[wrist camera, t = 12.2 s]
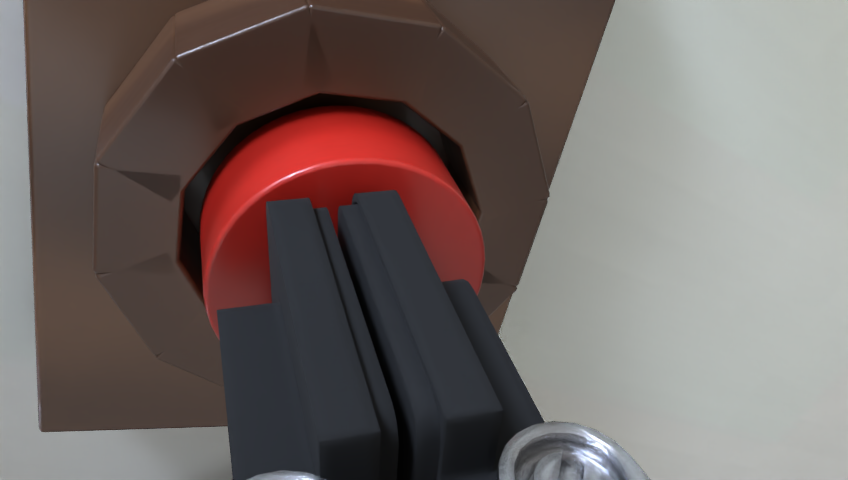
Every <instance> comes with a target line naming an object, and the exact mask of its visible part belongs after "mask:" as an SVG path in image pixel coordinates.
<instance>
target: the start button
mask: <svg viewBox="0 0 848 480" xmlns="http://www.w3.org/2000/svg"><path fill="white" fill-rule="evenodd" d="M387 190H396V191H397V192H398V194H399V195H400V198H401V200H402V202H403V204H404V206H405V208H406V210H407V212H408V214H409V216H410V218H411V220H412V222H413V224H414V226H415V229H416V231H417V233H418V235H419V237H420V239H421V241H422V243H423V245H424V247H425V249H426V251H427V253H428V255H429V257H430V259H431V262H432V264H433V266H434V268H435V270H436V272H437V274H438V276H439V278H440V280H441V282H444V281H452V280H460V279H464V280H466V281H468V282H469V283H470V285H471V286H472V288H473V289H474V291H475V293H476V295H477V296H478V293H479V291H480V287H481V283H482V279H483V275H484V265H485V248H484V241H483V236H482V232H481V229H480V226H479V224H478V221H477V219H476V216H475V215H474V213H473V211H472V210H471V208H470V206H469V205H468V203H467V201H466V200H465V198H464V196H463V194H462V193H461V191H460V189H459V188H458V186H457V184H456V183H455V181H454V179H453V178H452V176H451V174H450V173H449V171H448V169H447V168H446V166H445V164H444V163H443V161H442V159H441V158H440V156H439V154H438V153H437V151H436V150H435V149H434V147H433V146H432V145H431V144H430V143H429V141H428V140H427V139H426V138H424V137H423V136H422V135H421V134H420V133H419V132H418V131H417V130H415V129H414V128H412V127H411V126H409V125H408V124H406V123H404V122H403V121H401V120H399V119H397V118H395V117H392V116H390V115H388V114H385V113H382V112H379V111H375V110H372V109H367V108H361V107H355V106H338V105H335V106H321V107H314V108H309V109H304V110H300V111H297V112H294V113H290V114H287V115H284V116H282V117H280V118H278V119H275V120H273V121H271V122H269V123H267V124H265V125H264V126H262V127H260V128H259V129H257V130H256V131H254V132H252V133H251V134H250V135H248V136H247V137H246V138H245V139H244V140H242V141H241V142H240V143H239V144H237V145H236V146H235V147H234V149H233V150H232V151H231V152H230V153H229V154H228V155H227V156H226V157H225V158H224V160H223V161H222V163H221V164H220V165H219V167H218V168H217V170H216V171H215V173H214V175H213V177H212V179H211V181H210V183H209V184H208V187H207V190H206V193H205V196H204V198H203V202H202V208H201V214H200V243H201V262H202V282H203V297H204V304H205V310H206V313H207V316H208V319H209V322H210V325H211V327H212V328H213V330H214V332H215V334H216V336H217V338H218V339H219V329H218V319H217V310H220V309H228V308H236V307H244V306H252V305H260V304H268V303H272V297H271V282H270V266H269V251H268V235H267V220H266V202H267V201H278V200H288V199H299V198H310V201H311V203H312V207H313V208H323V207H327V209H328V211H329V214H330V217H331V220H332V223H333V226H334V229H335V232H336V235H337V238H338V208H339V206H344V205H352V198H353V195H354V193H365V192H376V191H387ZM219 340H220V339H219Z"/></svg>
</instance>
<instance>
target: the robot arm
mask: <svg viewBox="0 0 848 480" xmlns="http://www.w3.org/2000/svg"><path fill="white" fill-rule="evenodd" d="M266 220H267V235H268V251H269V266H270V282H271V297H272V303H268V304H260V305H252V306H244V307H236V308H228V309H220V310H217V319H218V329H219V339H220V350H221V360H222V370H223V381H224V391H225V401H226V412H227V422H228V432H229V442H230V453H231V463H232V473H233V480H650V478H649V477H648V476H647V475H646V474H645V472H644V471H643V470H642V469H641V467H640V466H639V465H638V464H637V463H636V461H635V460H634V459H633V458H632V457H631V455H630V454H629V453H627V452H626V451H625V450H624V449H623V448H622V447H621V446H620V445H619V444H618V443H617V442H616V441H615V440H613V439H611V438H609V437H608V436H606V435H604V434H602V433H601V432H599V431H597V430H595V429H592V428H589V427H586V426H583V425H579V424H576V423H569V422H556V421H552V422H546V423H545V422H544V420H543V419H542V417H541V415H540V413H539V411H538V409H537V407H536V405H535V404H534V402H533V400H532V398H531V396H530V394H529V392H528V390H527V389H526V387H525V385H524V383H523V381H522V379H521V377H520V375H519V374H518V372H517V370H516V368H515V366H514V364H513V362H512V360H511V359H510V357H509V355H508V353H507V351H506V349H505V347H504V345H503V343H502V342H501V340H500V338H499V336H498V334H497V332H496V330H495V328H494V327H493V325H492V323H491V321H490V319H489V317H488V315H487V313H486V312H485V310H484V308H483V306H482V304H481V302H480V300H479V298H478V297H477V295H476V293H475V291H474V289H473V288H472V286H471V285H470V283H469V282H468V281H466V280H464V279H460V280H452V281H444V282H441V280H440V278H439V276H438V274H437V272H436V270H435V268H434V266H433V264H432V262H431V259H430V257H429V255H428V253H427V251H426V249H425V247H424V245H423V243H422V241H421V239H420V237H419V235H418V233H417V231H416V229H415V226H414V224H413V222H412V220H411V218H410V216H409V214H408V212H407V210H406V208H405V206H404V204H403V202H402V200H401V198H400V195H399V194H398V192H397V191H396V190H387V191H376V192H365V193H354V195H353V198H352V205H344V206H339V208H338V238H337V235H336V232H335V229H334V226H333V223H332V220H331V217H330V214H329V211H328V209H327V207H323V208H313V207H312V203H311V201H310V198H299V199H288V200H278V201H267V202H266Z"/></svg>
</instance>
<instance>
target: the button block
mask: <svg viewBox="0 0 848 480" xmlns="http://www.w3.org/2000/svg"><path fill="white" fill-rule="evenodd" d="M614 3H615V0H23V12H24V39H25V66H26V93H27V120H28V147H29V174H30V201H31V228H32V255H33V282H34V309H35V336H36V363H37V390H38V417H39V429H40V431H41V432H61V431H93V430H124V429H155V428H186V427H218V426H228V422H227V412H226V401H225V391H224V381H223V370H222V360H221V350H220V340H219V339H218V338H217V336H216V334H215V332H214V330H213V328H212V327H211V325H210V322H209V319H208V316H207V313H206V310H205V304H204V297H203V282H202V262H201V243H200V214H201V208H202V202H203V198H204V196H205V193H206V190H207V187H208V184H209V183H210V181H211V179H212V177H213V175H214V173H215V171H216V170H217V168H218V167H219V165H220V164H221V163H222V161H223V160H224V158H225V157H226V156H227V155H228V154H229V153H230V152H231V151H232V150H233V149H234V147H235V146H236V145H237V144H239V143H240V142H241V141H242V140H244V139H245V138H246V137H247V136H248V135H250V134H251V133H252V132H254V131H256V130H257V129H259V128H260V127H262V126H264V125H265V124H267V123H269V122H271V121H273V120H275V119H278V118H280V117H282V116H284V115H287V114H290V113H294V112H297V111H300V110H304V109H309V108H314V107H321V106H335V105H338V106H355V107H361V108H367V109H372V110H375V111H379V112H382V113H385V114H388V115H390V116H392V117H395V118H397V119H399V120H401V121H403V122H404V123H406V124H408V125H409V126H411V127H412V128H414V129H415V130H417V131H418V132H419V133H420V134H421V135H422V136H423V137H424V138H426V139H427V140H428V141H429V143H430V144H431V145H432V146H433V147H434V149H435V150H436V151H437V153H438V154H439V156H440V158H441V159H442V161H443V163H444V164H445V166H446V168H447V169H448V171H449V173H450V174H451V176H452V178H453V179H454V181H455V183H456V184H457V186H458V188H459V189H460V191H461V193H462V194H463V196H464V198H465V200H466V201H467V203H468V205H469V206H470V208H471V210H472V211H473V213H474V215H475V216H476V219H477V221H478V224H479V226H480V229H481V232H482V236H483V241H484V248H485V265H484V275H483V279H482V283H481V287H480V291H479V293H478V296H477V297H478V298H479V300H480V302H481V304H482V306H483V308H484V310H485V312H486V313H487V315H488V317H489V319H490V321H491V323H492V325H493V327H494V328H495V330H496V332H497V334H498V333H499V330H500V327H501V325H502V322H503V319H504V316H505V313H506V310H507V308H508V305H509V302H510V299H511V296H512V294H513V293H514V292H515V291H516V289H517V287H516V286H517V285H518V284H519V281H520V278H521V276H522V273H523V270H524V267H525V264H526V261H527V259H528V256H529V253H530V250H531V247H532V244H533V242H534V239H535V236H536V233H537V230H538V227H539V225H540V222H541V219H542V216H543V213H544V210H545V208H546V205H547V198H548V197H549V196H550V193H549V188H550V185H551V182H552V179H553V177H554V174H555V171H556V168H557V165H558V162H559V159H560V157H561V154H562V151H563V148H564V145H565V142H566V140H567V137H568V134H569V131H570V128H571V125H572V122H573V120H574V117H575V114H576V111H577V108H578V105H579V102H580V100H581V97H582V94H583V91H584V88H585V85H586V83H587V80H588V77H589V74H590V71H591V68H592V65H593V63H594V60H595V57H596V54H597V51H598V48H599V46H600V43H601V40H602V37H603V34H604V31H605V28H606V26H607V23H608V20H609V17H610V14H611V11H612V9H613V6H614Z"/></svg>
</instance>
